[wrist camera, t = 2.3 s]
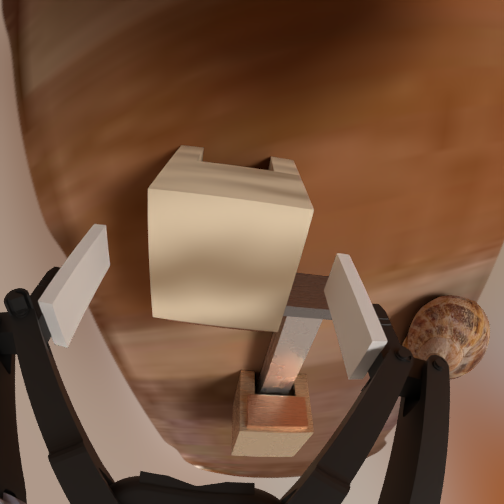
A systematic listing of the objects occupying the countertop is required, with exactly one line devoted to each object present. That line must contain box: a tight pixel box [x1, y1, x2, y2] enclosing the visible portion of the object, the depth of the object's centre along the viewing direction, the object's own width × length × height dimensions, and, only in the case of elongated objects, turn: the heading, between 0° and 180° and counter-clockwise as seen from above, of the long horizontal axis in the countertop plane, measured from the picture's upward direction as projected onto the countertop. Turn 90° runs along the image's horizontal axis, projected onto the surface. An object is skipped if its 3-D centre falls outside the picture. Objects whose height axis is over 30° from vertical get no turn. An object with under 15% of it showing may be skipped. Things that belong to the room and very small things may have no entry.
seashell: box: [402, 296, 490, 379], centre depth 27 cm, size 10×9×10 cm
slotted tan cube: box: [148, 145, 314, 332], centre depth 19 cm, size 9×7×8 cm
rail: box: [231, 273, 332, 457], centre depth 28 cm, size 23×7×8 cm, turn 171°
